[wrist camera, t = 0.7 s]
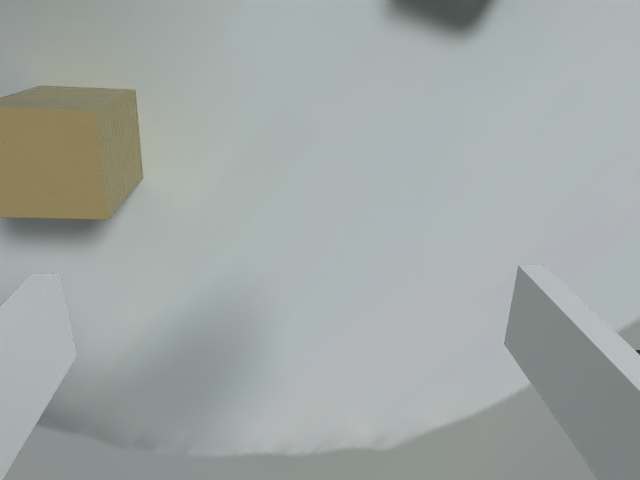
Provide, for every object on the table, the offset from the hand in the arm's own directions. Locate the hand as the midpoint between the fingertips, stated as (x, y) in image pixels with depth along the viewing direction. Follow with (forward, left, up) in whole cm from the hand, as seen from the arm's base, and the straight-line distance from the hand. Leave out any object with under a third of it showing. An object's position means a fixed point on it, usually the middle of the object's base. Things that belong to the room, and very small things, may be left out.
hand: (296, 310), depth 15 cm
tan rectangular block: (0, -13, -23) cm, 26 cm away
